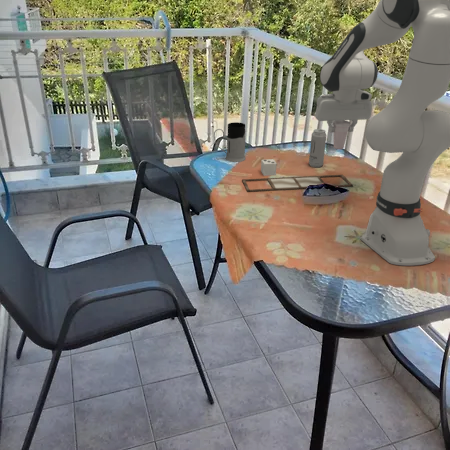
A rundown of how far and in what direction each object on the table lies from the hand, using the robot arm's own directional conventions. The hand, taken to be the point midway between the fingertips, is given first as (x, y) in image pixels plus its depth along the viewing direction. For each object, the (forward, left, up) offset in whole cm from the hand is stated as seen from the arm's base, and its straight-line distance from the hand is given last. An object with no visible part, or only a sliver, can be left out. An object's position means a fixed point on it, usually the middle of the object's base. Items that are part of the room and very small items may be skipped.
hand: (340, 131), depth 172 cm
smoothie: (0, 0, -6) cm, 6 cm away
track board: (0, +15, -20) cm, 25 cm away
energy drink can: (+18, +2, -20) cm, 27 cm away
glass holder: (+30, +37, -20) cm, 51 cm away
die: (+12, +24, -20) cm, 33 cm away
